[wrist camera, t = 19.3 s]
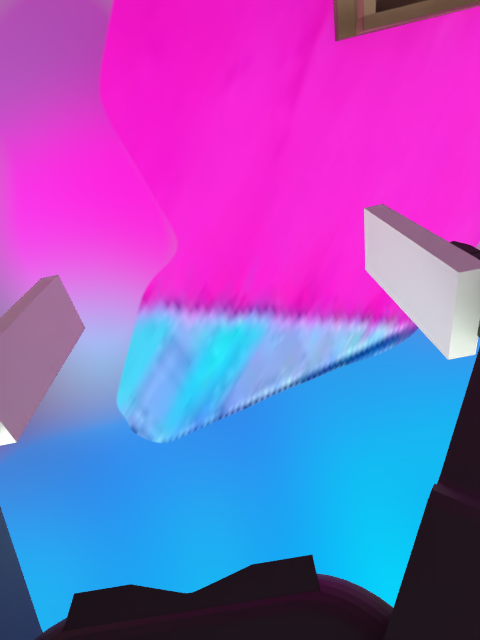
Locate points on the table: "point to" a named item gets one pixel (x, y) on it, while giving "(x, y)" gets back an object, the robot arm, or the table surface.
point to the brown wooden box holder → (388, 14)
